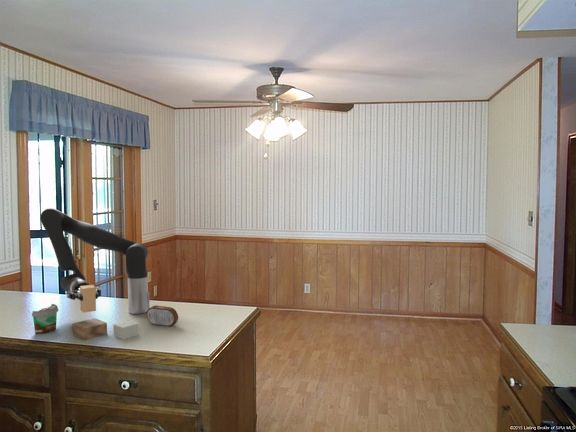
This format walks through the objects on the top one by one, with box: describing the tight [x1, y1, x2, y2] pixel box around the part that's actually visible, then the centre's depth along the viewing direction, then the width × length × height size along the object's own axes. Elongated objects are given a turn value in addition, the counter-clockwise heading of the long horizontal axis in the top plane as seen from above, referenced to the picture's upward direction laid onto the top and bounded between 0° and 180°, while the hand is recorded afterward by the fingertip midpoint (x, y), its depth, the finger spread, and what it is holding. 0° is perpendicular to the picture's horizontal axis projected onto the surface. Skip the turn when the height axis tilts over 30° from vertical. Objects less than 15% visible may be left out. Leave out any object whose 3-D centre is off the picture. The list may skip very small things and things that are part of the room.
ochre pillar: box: [79, 284, 97, 313], centre depth 189 cm, size 5×5×10 cm
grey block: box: [113, 320, 139, 340], centre depth 189 cm, size 7×7×5 cm
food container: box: [31, 303, 59, 335], centre depth 194 cm, size 12×6×10 cm, turn 168°
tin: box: [146, 304, 179, 327], centre depth 202 cm, size 15×3×8 cm, turn 71°
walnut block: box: [71, 317, 108, 341], centre depth 190 cm, size 10×10×5 cm
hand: (89, 297), depth 187 cm, fingers closed on ochre pillar, 5 cm apart
